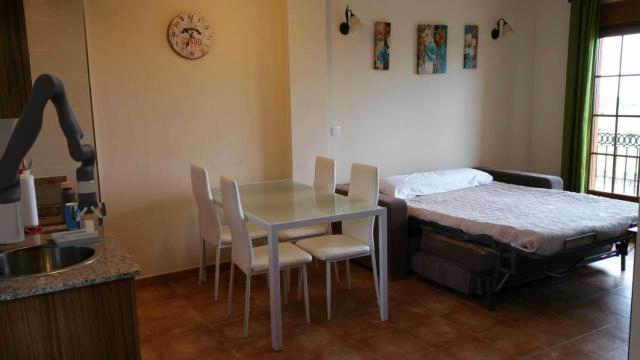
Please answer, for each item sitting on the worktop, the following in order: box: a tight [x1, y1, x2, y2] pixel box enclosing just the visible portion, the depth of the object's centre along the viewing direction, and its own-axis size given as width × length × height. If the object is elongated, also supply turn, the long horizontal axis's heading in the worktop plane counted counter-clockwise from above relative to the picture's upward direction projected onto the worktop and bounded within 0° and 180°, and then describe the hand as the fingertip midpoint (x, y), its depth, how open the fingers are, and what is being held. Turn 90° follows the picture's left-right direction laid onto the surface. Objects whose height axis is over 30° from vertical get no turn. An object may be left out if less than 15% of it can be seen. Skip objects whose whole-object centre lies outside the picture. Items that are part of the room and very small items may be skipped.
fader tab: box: [83, 219, 95, 233], centre depth 226 cm, size 3×4×5 cm
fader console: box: [51, 228, 101, 249], centre depth 224 cm, size 16×18×3 cm
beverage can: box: [65, 202, 82, 231], centre depth 244 cm, size 6×6×12 cm
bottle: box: [59, 181, 77, 225], centre depth 257 cm, size 7×7×20 cm
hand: (89, 227), depth 226 cm, fingers open, 8 cm apart
